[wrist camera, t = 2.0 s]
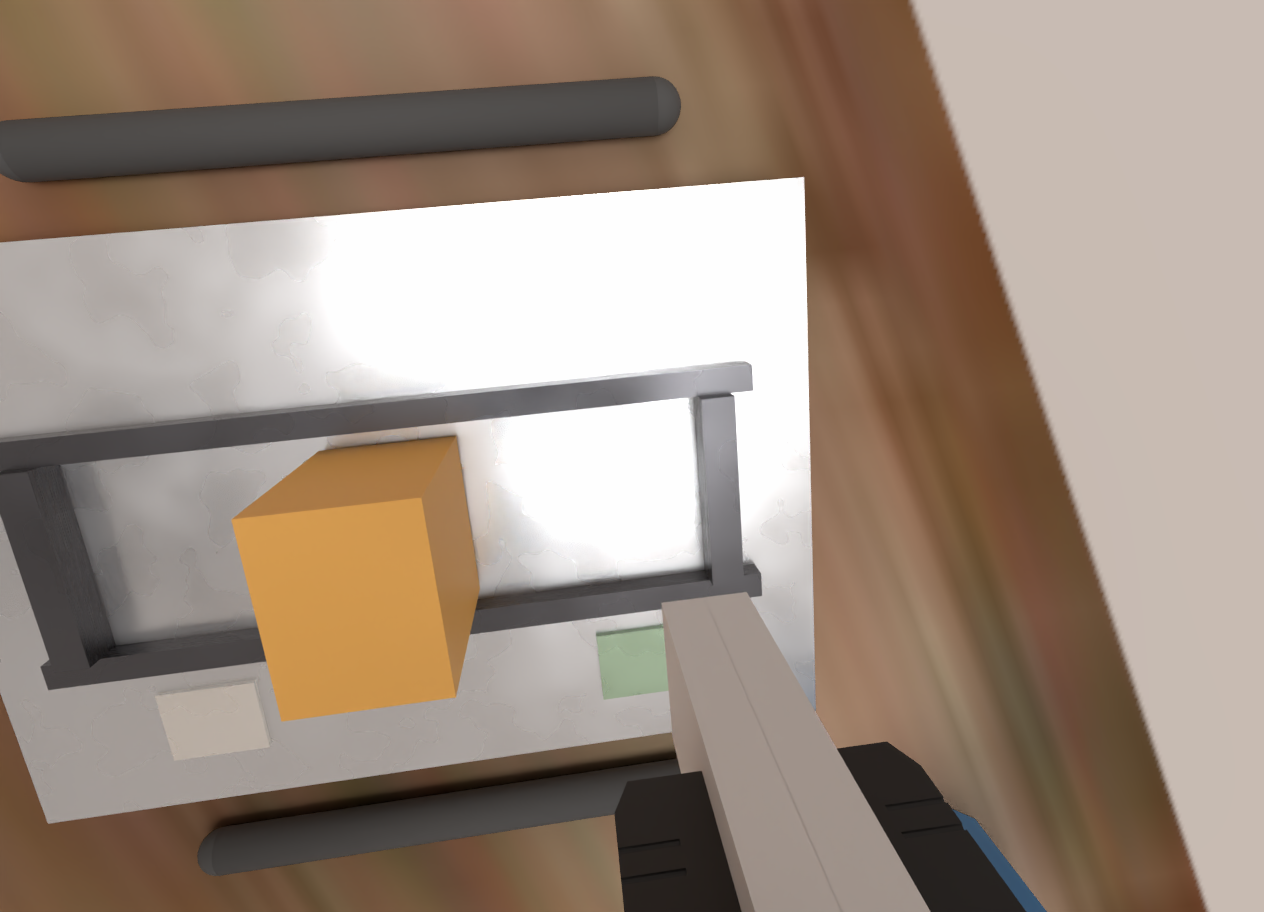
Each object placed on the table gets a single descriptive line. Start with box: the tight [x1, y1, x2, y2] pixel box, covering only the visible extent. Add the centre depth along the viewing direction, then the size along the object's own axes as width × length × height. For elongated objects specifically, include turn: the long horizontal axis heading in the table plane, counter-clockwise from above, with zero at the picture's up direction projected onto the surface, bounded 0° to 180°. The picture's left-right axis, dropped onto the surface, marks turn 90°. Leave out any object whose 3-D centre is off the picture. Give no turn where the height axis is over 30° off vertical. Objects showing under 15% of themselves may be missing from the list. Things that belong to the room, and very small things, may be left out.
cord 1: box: [0, 77, 681, 182], centre depth 21 cm, size 20×2×2 cm, turn 95°
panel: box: [0, 177, 816, 824], centre depth 23 cm, size 26×18×4 cm
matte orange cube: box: [231, 436, 480, 722], centre depth 19 cm, size 4×5×6 cm
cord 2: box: [198, 759, 681, 876], centre depth 27 cm, size 20×2×2 cm, turn 95°
